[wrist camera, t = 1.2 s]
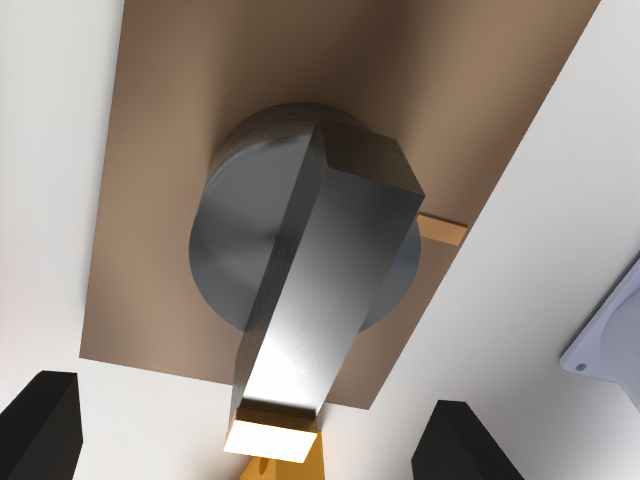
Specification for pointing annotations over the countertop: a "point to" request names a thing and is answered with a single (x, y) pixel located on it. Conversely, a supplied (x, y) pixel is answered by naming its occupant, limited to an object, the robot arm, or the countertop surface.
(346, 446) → the countertop surface
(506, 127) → the base plate
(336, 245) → the twist cap
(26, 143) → the countertop surface
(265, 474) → the pipe clamp
